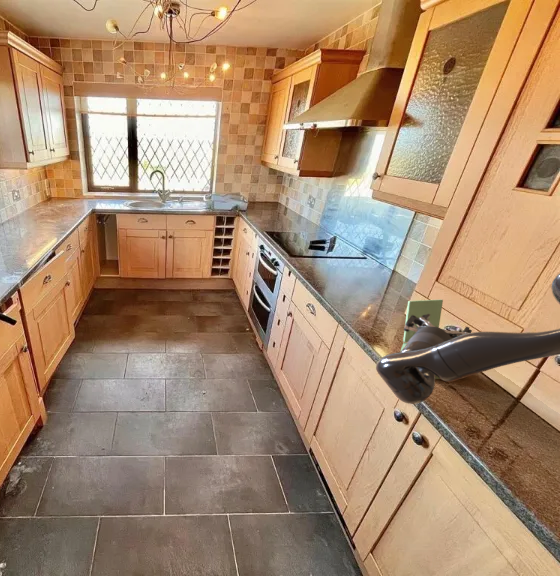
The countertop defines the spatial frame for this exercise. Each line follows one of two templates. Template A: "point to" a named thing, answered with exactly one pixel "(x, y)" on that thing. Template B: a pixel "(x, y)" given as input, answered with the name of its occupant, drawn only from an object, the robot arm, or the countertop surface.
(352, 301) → the countertop surface
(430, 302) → the caddy lid
